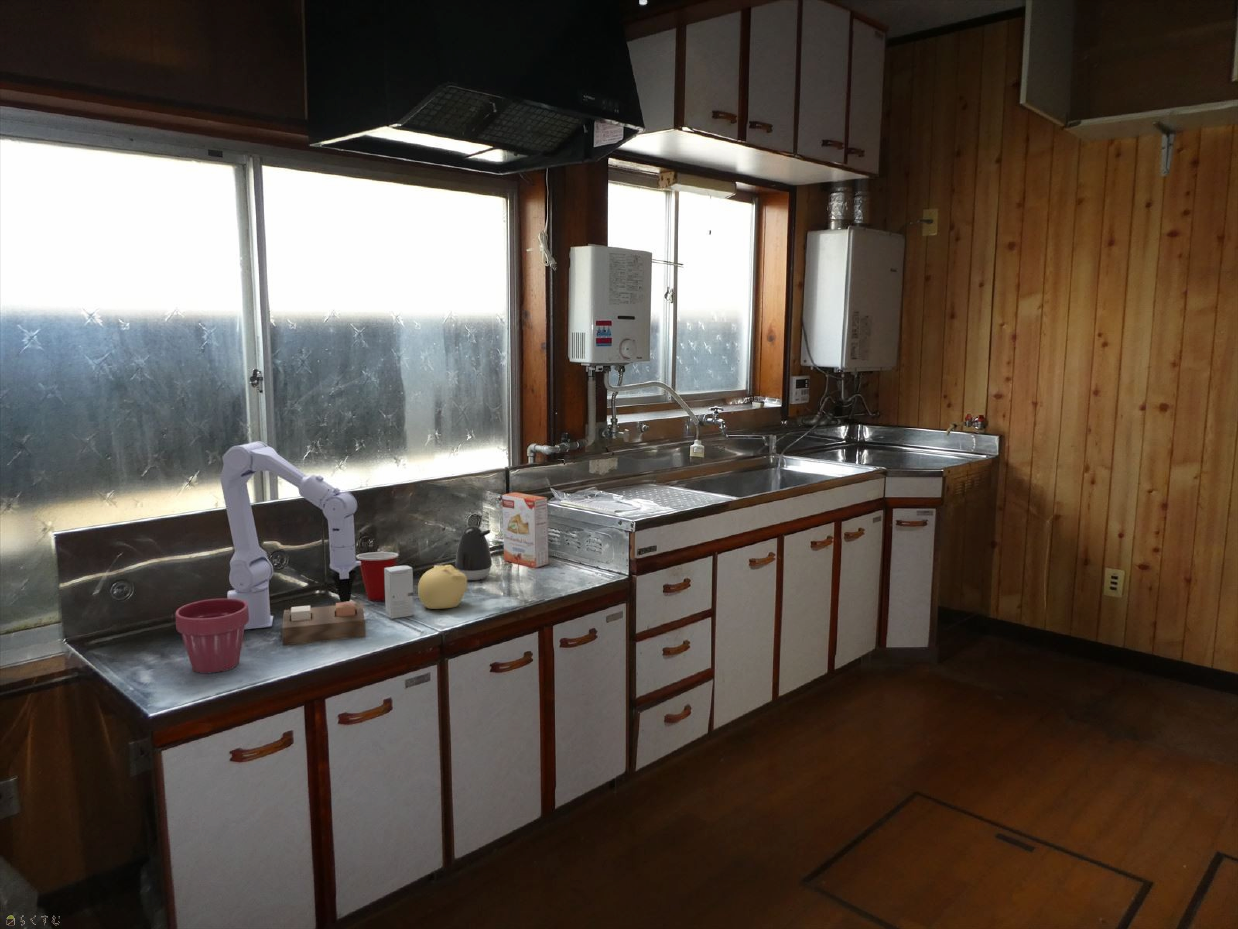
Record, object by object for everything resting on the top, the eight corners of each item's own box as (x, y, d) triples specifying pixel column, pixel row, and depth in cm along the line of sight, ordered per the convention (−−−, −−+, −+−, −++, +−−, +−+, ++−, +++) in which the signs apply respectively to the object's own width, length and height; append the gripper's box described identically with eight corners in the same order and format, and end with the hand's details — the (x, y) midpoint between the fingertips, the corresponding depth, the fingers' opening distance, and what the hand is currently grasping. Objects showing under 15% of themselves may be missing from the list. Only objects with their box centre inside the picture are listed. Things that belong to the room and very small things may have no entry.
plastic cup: (405, 592, 248) (404, 549, 246) (392, 604, 237) (390, 559, 236) (367, 591, 249) (365, 548, 247) (351, 603, 238) (349, 558, 237)
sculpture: (474, 606, 235) (473, 565, 234) (433, 616, 227) (432, 574, 226) (451, 597, 244) (449, 557, 242) (410, 606, 236) (409, 565, 234)
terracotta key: (336, 622, 215) (336, 608, 214) (336, 617, 219) (335, 603, 218) (355, 620, 216) (354, 606, 216) (354, 615, 220) (354, 601, 220)
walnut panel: (282, 645, 207) (281, 628, 206) (285, 626, 220) (284, 610, 220) (365, 636, 213) (364, 620, 212) (362, 618, 226) (361, 603, 225)
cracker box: (502, 561, 280) (501, 494, 277) (517, 557, 285) (515, 491, 282) (535, 569, 271) (533, 499, 268) (549, 565, 276) (548, 496, 273)
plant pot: (250, 673, 190) (246, 613, 188) (175, 682, 186) (171, 621, 184) (253, 650, 204) (249, 595, 202) (183, 658, 199) (178, 601, 197)
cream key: (291, 627, 212) (290, 612, 211) (292, 621, 216) (291, 607, 215) (310, 625, 213) (310, 610, 213) (311, 619, 217) (310, 605, 217)
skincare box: (391, 619, 225) (389, 571, 223) (385, 615, 229) (382, 567, 227) (415, 615, 228) (413, 568, 226) (408, 610, 232) (406, 564, 230)
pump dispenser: (483, 584, 255) (482, 531, 253) (449, 581, 258) (448, 528, 256) (498, 574, 265) (497, 523, 263) (465, 572, 268) (464, 521, 266)
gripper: (361, 550, 209) (364, 608, 211) (358, 537, 223) (361, 591, 225) (328, 553, 207) (332, 611, 209) (328, 539, 221) (331, 593, 223)
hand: (345, 601), depth 217 cm, fingers closed
